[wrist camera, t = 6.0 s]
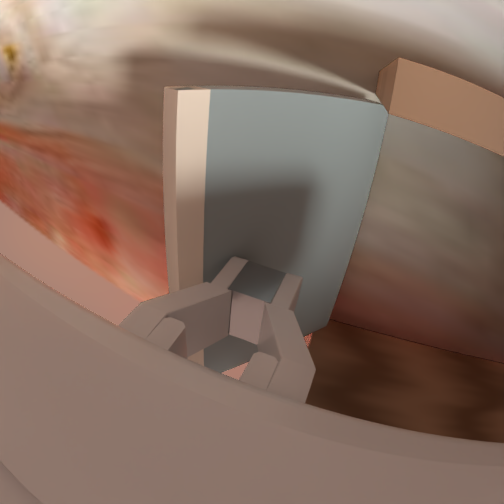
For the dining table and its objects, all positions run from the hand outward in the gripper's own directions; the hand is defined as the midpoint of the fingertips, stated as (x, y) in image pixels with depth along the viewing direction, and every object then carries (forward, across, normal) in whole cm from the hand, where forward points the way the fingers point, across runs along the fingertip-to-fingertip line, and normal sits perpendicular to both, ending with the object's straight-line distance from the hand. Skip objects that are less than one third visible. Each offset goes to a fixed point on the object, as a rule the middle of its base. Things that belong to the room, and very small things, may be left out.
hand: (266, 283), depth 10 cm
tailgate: (+6, -2, 0) cm, 6 cm away
